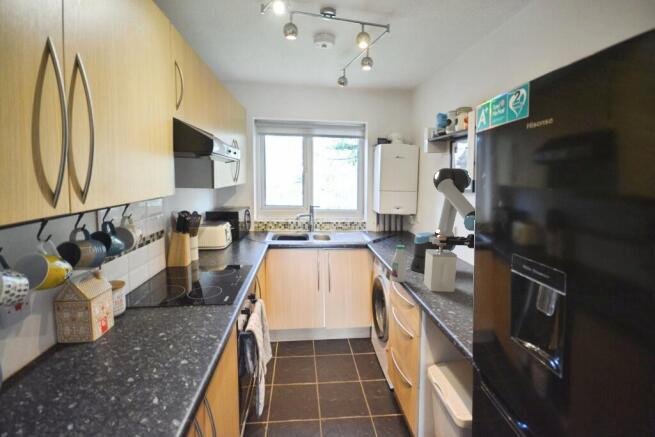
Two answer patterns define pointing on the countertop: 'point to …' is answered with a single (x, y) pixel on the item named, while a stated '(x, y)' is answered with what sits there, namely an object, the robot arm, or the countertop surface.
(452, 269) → the beige rectangular box
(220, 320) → the countertop surface
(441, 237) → the plunger
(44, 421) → the countertop surface
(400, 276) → the milk bottle
